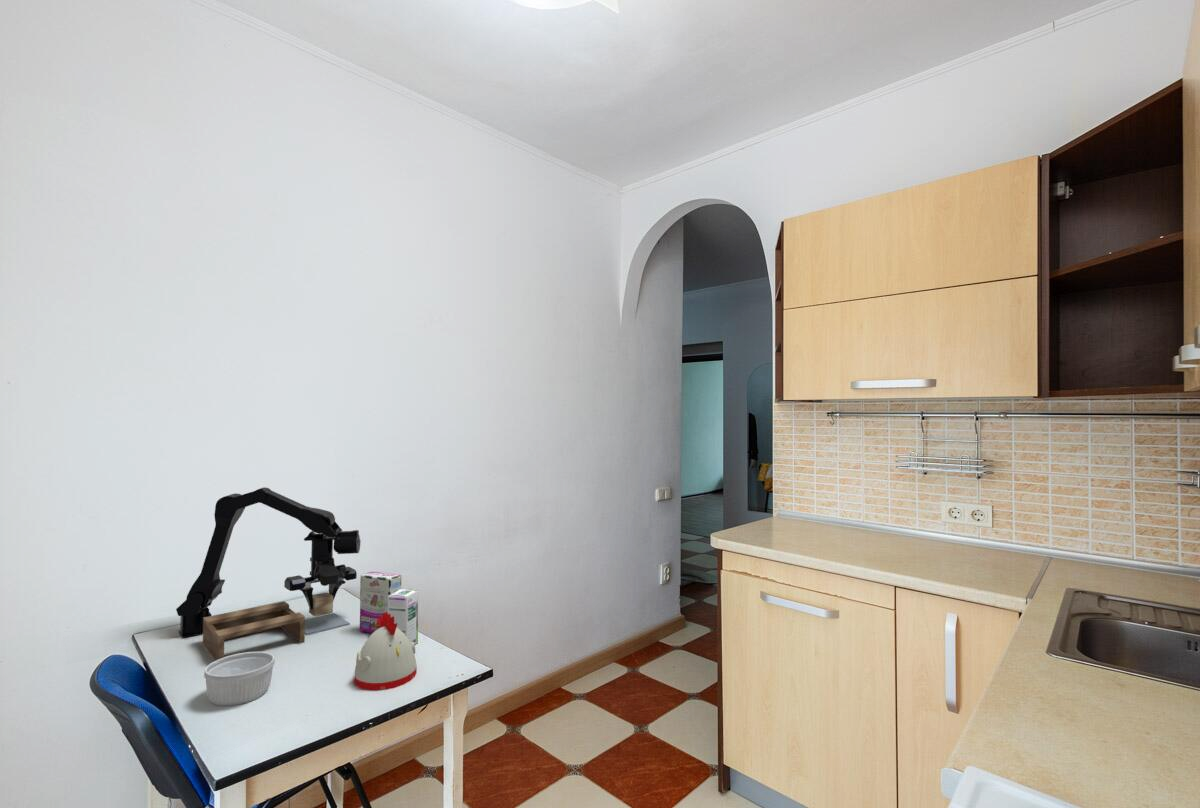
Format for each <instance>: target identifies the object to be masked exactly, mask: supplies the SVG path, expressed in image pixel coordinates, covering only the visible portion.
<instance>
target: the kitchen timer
mask: <svg viewBox="0 0 1200 808" xmlns="http://www.w3.org/2000/svg"><path fill="white" fill-rule="evenodd" d="M377 622H378V628H379V629H377V630H376V631H375V632H374V633H372V634H370V635H369V637H368V638H367V639H366V641H365V642H364V644H363V645H362V647H361V650H360V651H357V653H356V661H355V663H356V664H355V666H354V667H355V668H354V679H353V680H354V684H355V686H356V687H358V688H360V689H362V690H367V691H383V690H384V691H385V690H389V689H395V688H398V687H401V686H403V685H406V684H407V683H409V682H411V681H412V680H413V679H414V678H415V677H416V675H417V670H418V669H417V668H418V667H417V660H416V656H415V654H416V647H415V645H416V644H415V645H414V642H411V643H410V641H409V639H408V638H407V637H406V635H405V634H404V633H403V632H402V631H401V630H399V629H398V628H396V627H397V623H395V624H394V616H393V617H391V615H390V614H388V613H387V612H385V613H383V615H382V616H380V619H377Z"/></svg>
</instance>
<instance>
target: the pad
mask: <svg viewBox="0 0 1200 808" xmlns="http://www.w3.org/2000/svg"><path fill="white" fill-rule="evenodd" d="M348 625H350V622H349V621H348V620H345V619H344V618H343V617H341V616H340V615H338V614H337V613H335V612H333V613H330V614H325V615H321V616H316V617H315V616H313V617H311V618H305V636H310V635H312V634H317V633H321V632H325V631H330V630H332V629H333V630H334V629H337V628H340V627H345V626H348Z"/></svg>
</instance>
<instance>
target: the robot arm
mask: <svg viewBox="0 0 1200 808" xmlns="http://www.w3.org/2000/svg"><path fill="white" fill-rule="evenodd" d="M259 503H260V504H262V505H264V506H266V507H269V508H271V509H274V510H276V511H278V512H281V513H282V514H285V515H287V516H289V517H292V518H294V519H296V520H297V521H299V522H301V523H302V524H303V525H304V527H306V528H307V529H309V530H310V532H309V533H308V534H307V536H306V537H304V538H303V541H305V542H307V541H311V549H310V550H311V556H310V557H309V561H310V563H311V564H310V571H309V576H308V577H303V576H301V575H300V574H299V575H294V576H288V577H286V578H285V580H284V586H283V587H284V589H287V590H288V591H290V592H293V591H294V592H295V591H300V592H302V594H303V596H304V597H305V600H306V603H307V605H308V607H309V608H310V609H311V610H313V595H314V594H313V591H314V588H313V586H312V584H314V583H320V585H321V586H323V587H326V586H328V593H329V594H331V595H333V602H334V600H335V597H336V595H337V592H338V590H339V589H340V588H341V587H342V585H345V584H346V581H351V580H356V579H357V575H358V573H357V570H356V569H354V568H353V567H351V566H346V564H338V565H336V564H335V558H334V557H333V555H334V554H333V553H336V554H337V555H345V554H346V555H349V554H360V550H361V542H362V541H361V540H362V539H361V536H360V531H359V529H354V530H343V529H342V528H341V527H340V525H339V524H338V523H337V522H336V517H335V514H333V512H331V511H329V510H325V509H322V508H316V507H310V506H307V505H305V504H302V503H300V502H298V501H296V500H294V499H291V498H289V497H288V496H287V497H286V496H285V495H282V494H280V493H279V492H276V491H274V490H272V489H271V488H269V487H260V488H258V489H256V490H253V491H251V492H247V493H244V494H241V493H230V494H228V495H225V496H222V497H220V498H219V499H218V500H217V501H216V503H215V506H214V507H215V508H214V522H215V525H214V526H215V527H214V529H213V533H212V536H211V540H210V542H209V546H208V550H207V552H206V555H205V559H204V561H203V564H202V567H201V571H200V573H199V575H198V577H196V579H195V581H194V583H193V584H192V585H191V587H190V589H189V591H188V593H187V595H186V599H185V600H184V601H183V602H182V603H181V604H180V605H179V606H177V607H176V609H175V611H176V613H177V616H178V617H179V618H180V623H179V624H180V627H179V630H178V634H179V635H180V637H181V638H183V639H185V638H191V637H194V636H198V635H203V618H204V617H209V616H212V613H211V612H210V608H209V607H210V606H211V605H212V603H213V601H214V600H216V599H217V598H218V596H219V595H221V594H222V593H223V586H224V583H225V581H226V579H221V576H220V572H221V569H222V566H223V562H224V559H225V555H226V553H227V549H228V547H229V543H230V539H231V537H232V534H233V529H234V528H235V525H236V524H237V523H238V521H239V519H240V518H241V517H242V515H243V512H244V511H245V509H246V508H247V507H250V506H252V505H256V504H259ZM333 551H334V552H333ZM309 608H308V609H309Z"/></svg>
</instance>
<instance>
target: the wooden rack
mask: <svg viewBox="0 0 1200 808" xmlns="http://www.w3.org/2000/svg"><path fill="white" fill-rule="evenodd" d="M305 619H306V616H305V615H303V613H301V612H295V611H294V610H293V609H291V608H290V604H289V603H288V602H286V601H285V600H283V601H278V602H273V603H269V604H264V605H257V606H254V607H249V608H244V609H240V610H234V611H229V612H224V613H220V614H214V615H211V616H209V617H204V618H203V634H202V645H203V646H204V647H205V649H206V650H207V651H208V653H209V654H210V655H211V657H212V658H213V659H214V661H216V660H219V659H221V658H224V657H225V641H227V640H231V639H236V638H239V637H243V636H248V635H253V634H257V633H261V632H265V631H269V630H274V629H279V628H281V629H282V630H284V632H286V633H287V634H288V635H289V636H290V637H292V638H293V639H294V640H295V641H296V642H297V643H298V644H303V643H305V636H306V635H305Z"/></svg>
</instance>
